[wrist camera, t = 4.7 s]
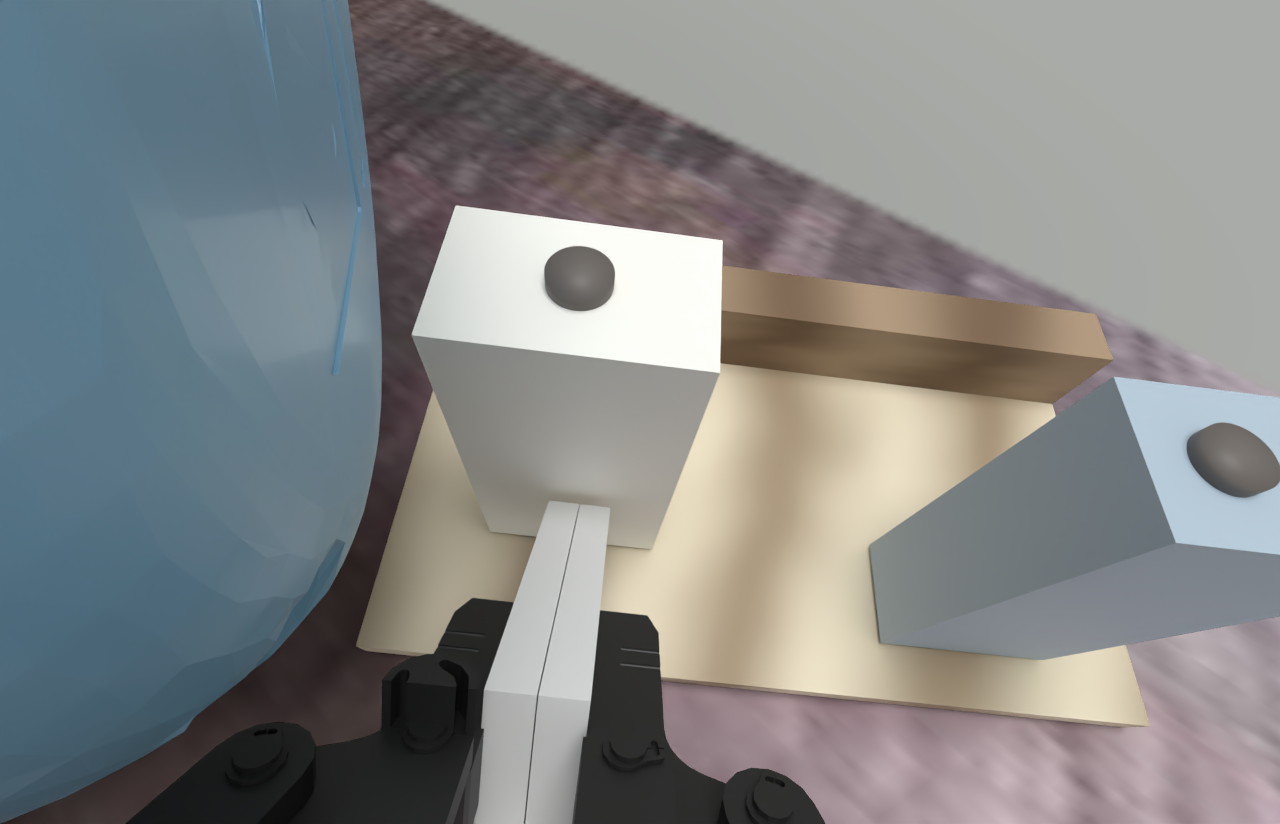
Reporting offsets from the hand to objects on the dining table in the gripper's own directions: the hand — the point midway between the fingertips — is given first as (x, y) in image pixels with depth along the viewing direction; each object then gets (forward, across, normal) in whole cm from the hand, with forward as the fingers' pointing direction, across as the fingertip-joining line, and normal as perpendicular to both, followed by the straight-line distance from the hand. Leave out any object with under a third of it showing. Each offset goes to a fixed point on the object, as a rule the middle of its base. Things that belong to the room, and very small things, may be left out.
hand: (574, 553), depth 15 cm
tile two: (+3, +12, -1) cm, 12 cm away
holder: (+6, +6, 0) cm, 8 cm away
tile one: (+4, 0, 0) cm, 4 cm away
